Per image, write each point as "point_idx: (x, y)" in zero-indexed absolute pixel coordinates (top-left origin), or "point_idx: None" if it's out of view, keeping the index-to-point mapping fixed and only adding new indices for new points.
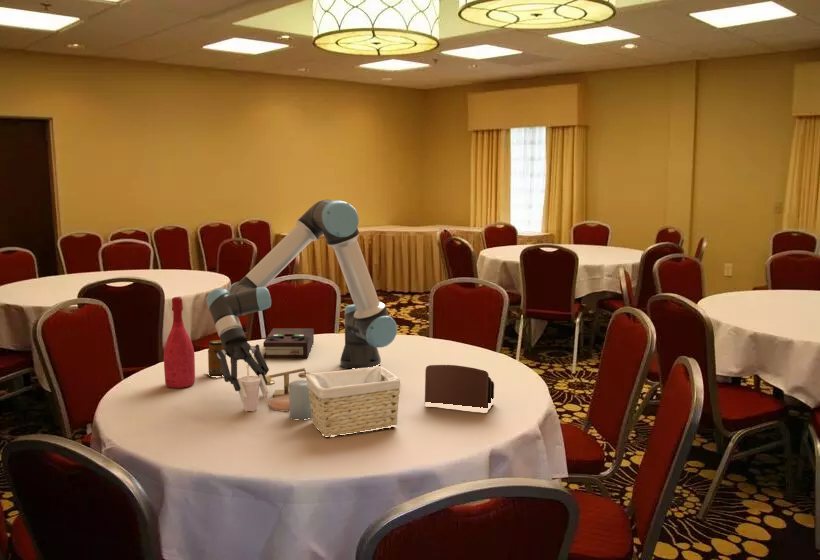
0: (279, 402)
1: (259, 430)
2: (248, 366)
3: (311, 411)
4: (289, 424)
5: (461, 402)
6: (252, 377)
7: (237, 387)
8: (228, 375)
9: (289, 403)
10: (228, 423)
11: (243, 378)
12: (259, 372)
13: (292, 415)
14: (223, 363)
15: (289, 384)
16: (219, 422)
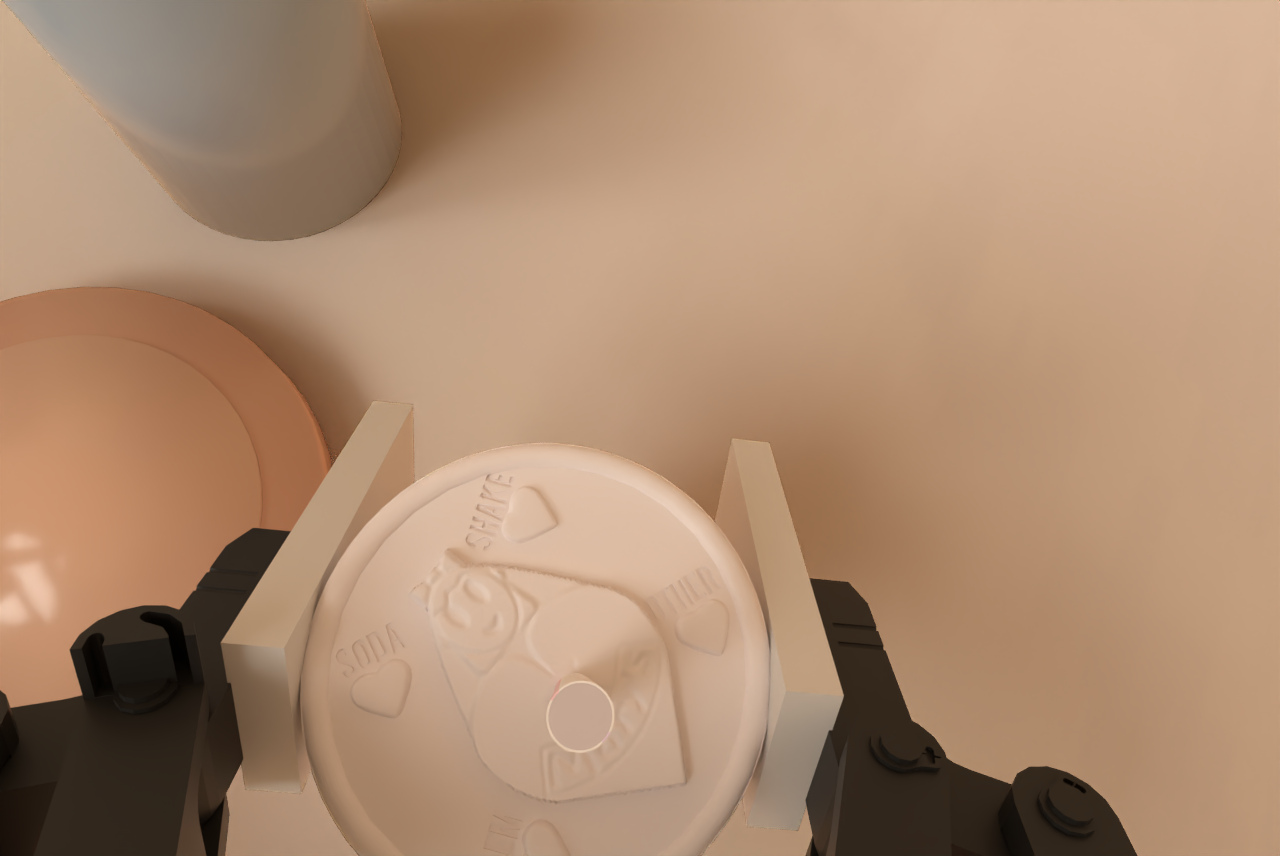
0: (210, 520)
1: (791, 105)
2: (567, 682)
3: None
4: (506, 50)
5: None
6: (429, 745)
7: (845, 603)
8: (1086, 817)
9: (340, 94)
10: (942, 434)
11: (662, 750)
12: (202, 745)
13: (393, 98)
14: None
15: None
16: (1006, 521)
